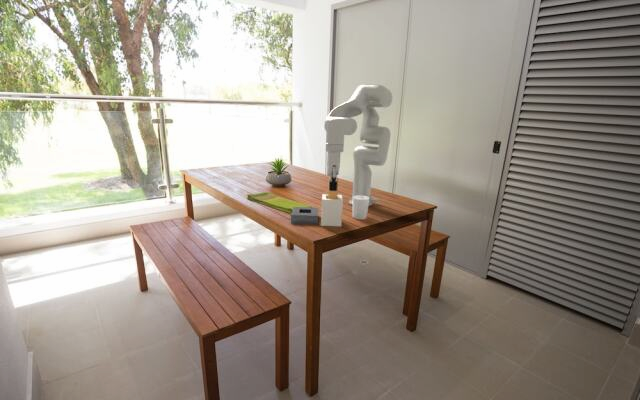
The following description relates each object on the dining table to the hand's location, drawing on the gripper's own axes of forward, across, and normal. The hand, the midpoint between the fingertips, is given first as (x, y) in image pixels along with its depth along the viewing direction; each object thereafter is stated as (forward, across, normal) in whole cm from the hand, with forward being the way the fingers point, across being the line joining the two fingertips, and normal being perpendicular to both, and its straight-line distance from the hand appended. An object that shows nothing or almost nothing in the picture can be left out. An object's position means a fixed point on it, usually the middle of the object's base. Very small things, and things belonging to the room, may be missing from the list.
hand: (332, 188), depth 145 cm
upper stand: (+16, 0, 0) cm, 16 cm away
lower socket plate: (+16, -3, -12) cm, 20 cm away
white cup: (+16, -9, +14) cm, 23 cm away
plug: (+4, 0, 0) cm, 4 cm away
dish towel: (+17, -26, -28) cm, 42 cm away
